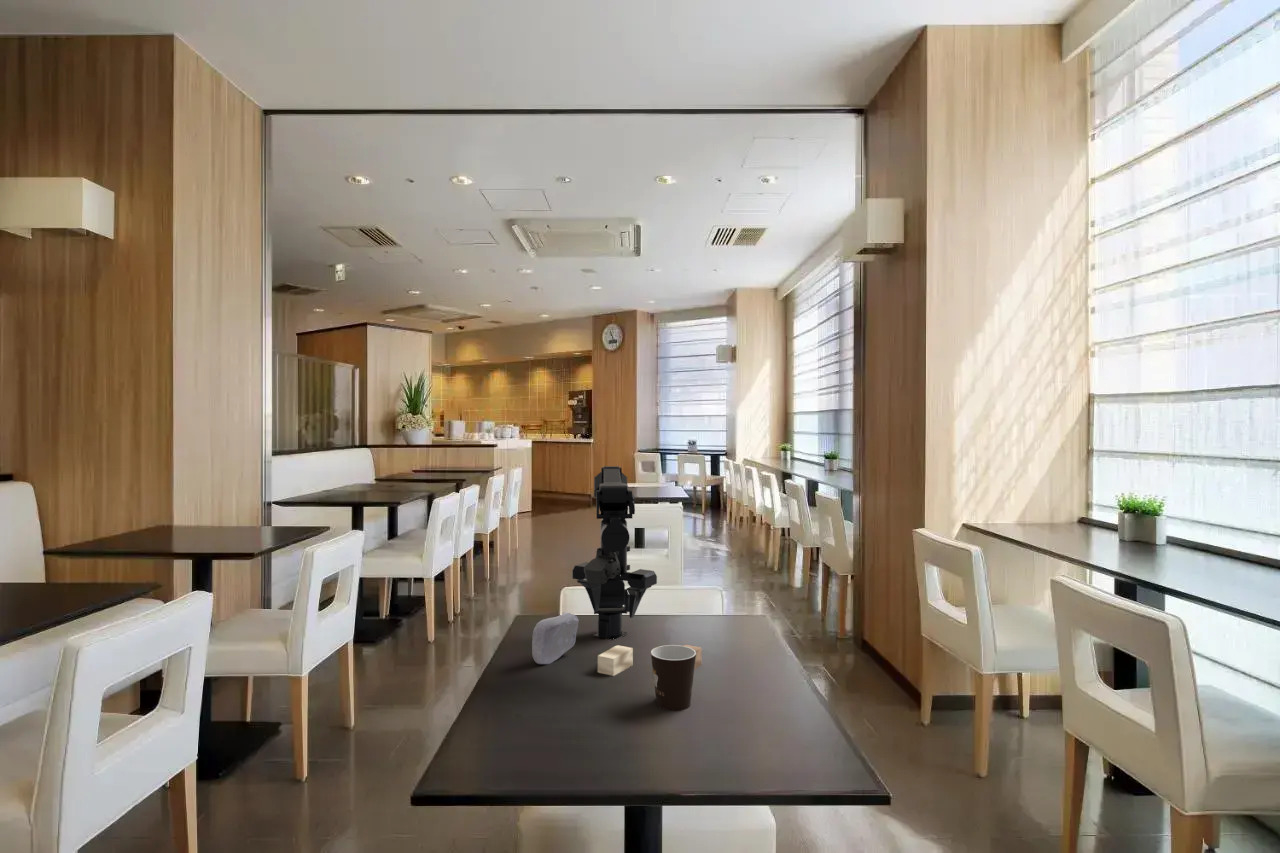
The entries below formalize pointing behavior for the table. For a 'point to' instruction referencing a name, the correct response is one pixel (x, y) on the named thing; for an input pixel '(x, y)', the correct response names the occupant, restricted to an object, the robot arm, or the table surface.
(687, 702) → the coffee mug
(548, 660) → the stone block
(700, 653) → the brick
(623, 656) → the ash brick
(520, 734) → the table surface
